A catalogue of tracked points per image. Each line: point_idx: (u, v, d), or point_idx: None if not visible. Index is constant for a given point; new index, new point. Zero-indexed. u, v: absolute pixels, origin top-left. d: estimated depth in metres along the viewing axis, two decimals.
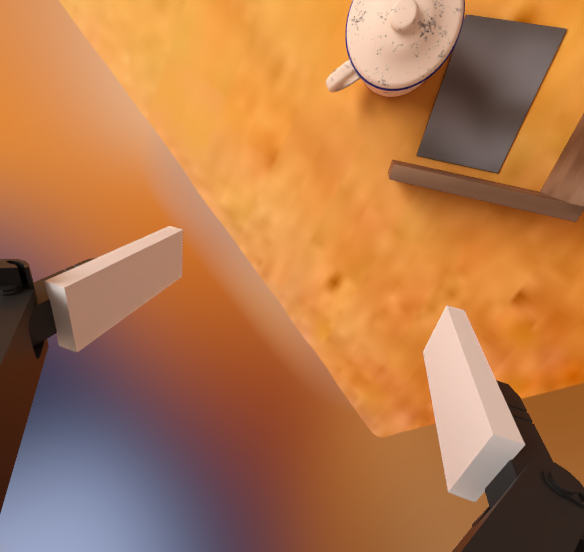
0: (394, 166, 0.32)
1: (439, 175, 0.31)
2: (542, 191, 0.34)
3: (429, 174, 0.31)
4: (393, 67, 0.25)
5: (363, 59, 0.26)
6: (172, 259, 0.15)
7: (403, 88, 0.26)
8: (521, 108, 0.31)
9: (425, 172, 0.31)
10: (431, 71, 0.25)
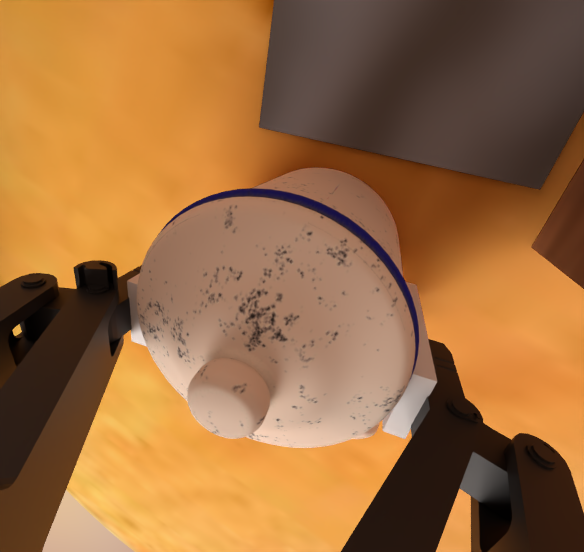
0: None
1: None
2: None
3: None
4: (357, 387, 0.08)
5: (328, 436, 0.10)
6: None
7: (416, 340, 0.08)
8: None
9: None
10: (383, 273, 0.07)
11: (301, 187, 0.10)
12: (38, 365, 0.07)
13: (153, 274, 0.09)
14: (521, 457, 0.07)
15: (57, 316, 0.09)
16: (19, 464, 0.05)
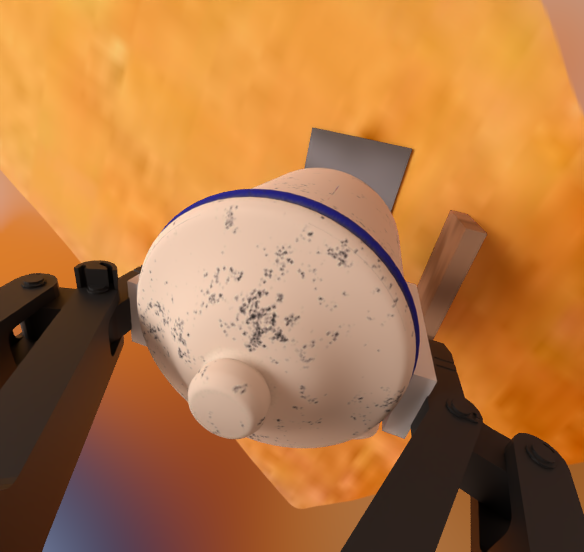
0: None
1: None
2: None
3: None
4: (357, 387, 0.08)
5: (328, 437, 0.10)
6: None
7: (417, 340, 0.08)
8: None
9: None
10: (384, 273, 0.07)
11: (301, 187, 0.10)
12: (38, 365, 0.07)
13: (153, 274, 0.09)
14: (521, 457, 0.07)
15: (58, 316, 0.09)
16: (19, 464, 0.05)
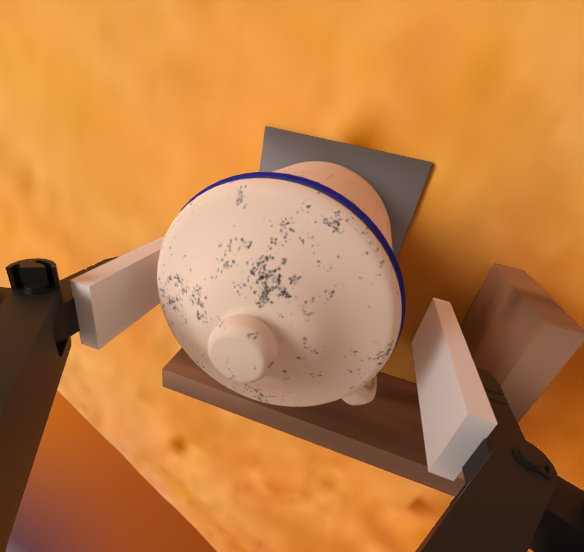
0: (164, 371, 0.19)
1: (232, 395, 0.18)
2: None
3: (217, 391, 0.18)
4: (352, 340, 0.09)
5: (328, 392, 0.11)
6: None
7: (402, 300, 0.10)
8: None
9: (210, 387, 0.18)
10: (371, 239, 0.09)
11: (300, 173, 0.11)
12: None
13: (173, 250, 0.10)
14: None
15: None
16: None
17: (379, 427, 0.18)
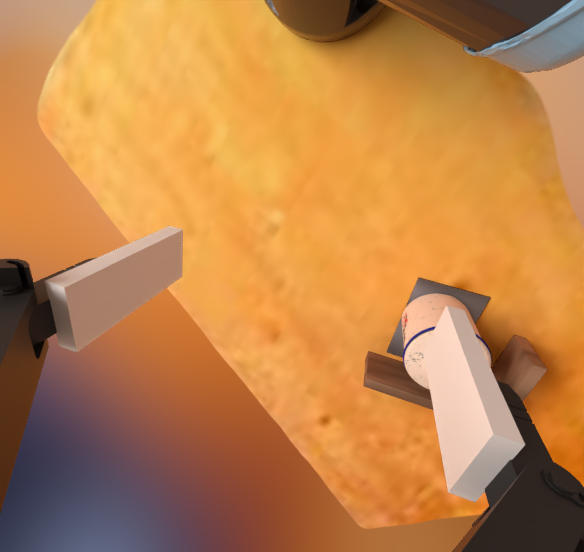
0: (367, 379, 0.42)
1: (400, 390, 0.41)
2: None
3: (392, 388, 0.42)
4: None
5: None
6: (172, 259, 0.15)
7: None
8: None
9: (389, 386, 0.42)
10: (484, 346, 0.32)
11: None
12: None
13: (420, 345, 0.34)
14: None
15: None
16: None
17: None
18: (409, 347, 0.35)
